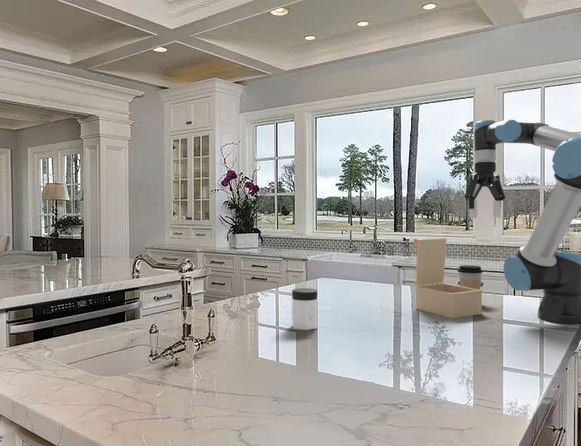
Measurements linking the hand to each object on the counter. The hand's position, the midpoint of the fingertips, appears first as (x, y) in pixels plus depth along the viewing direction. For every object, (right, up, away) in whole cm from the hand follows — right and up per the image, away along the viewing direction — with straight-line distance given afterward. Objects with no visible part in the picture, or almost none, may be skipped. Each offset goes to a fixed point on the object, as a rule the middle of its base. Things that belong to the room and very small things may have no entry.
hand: (485, 217), depth 187 cm
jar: (-70, -36, -29) cm, 84 cm away
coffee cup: (-4, -34, +6) cm, 35 cm away
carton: (-17, -35, -9) cm, 40 cm away
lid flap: (-21, -17, -2) cm, 27 cm away
